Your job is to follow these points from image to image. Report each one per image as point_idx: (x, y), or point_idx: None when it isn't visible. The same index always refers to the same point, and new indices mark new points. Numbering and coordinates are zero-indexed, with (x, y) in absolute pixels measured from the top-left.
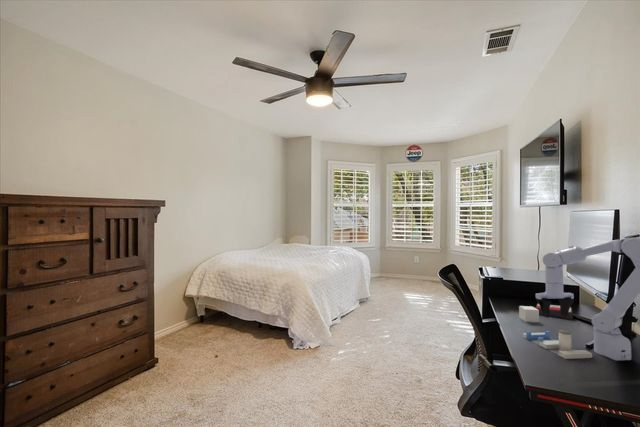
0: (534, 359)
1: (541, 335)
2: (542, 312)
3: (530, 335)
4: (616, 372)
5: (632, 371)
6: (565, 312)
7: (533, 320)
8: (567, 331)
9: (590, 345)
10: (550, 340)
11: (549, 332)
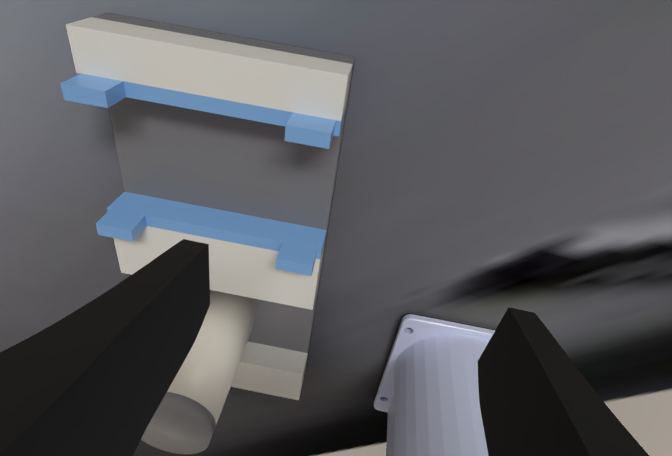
0: (18, 283)
1: (242, 115)
2: (139, 273)
3: (119, 95)
4: (293, 429)
5: (367, 442)
6: (491, 432)
7: None
8: (177, 442)
9: (565, 263)
10: (213, 234)
11: (327, 144)
